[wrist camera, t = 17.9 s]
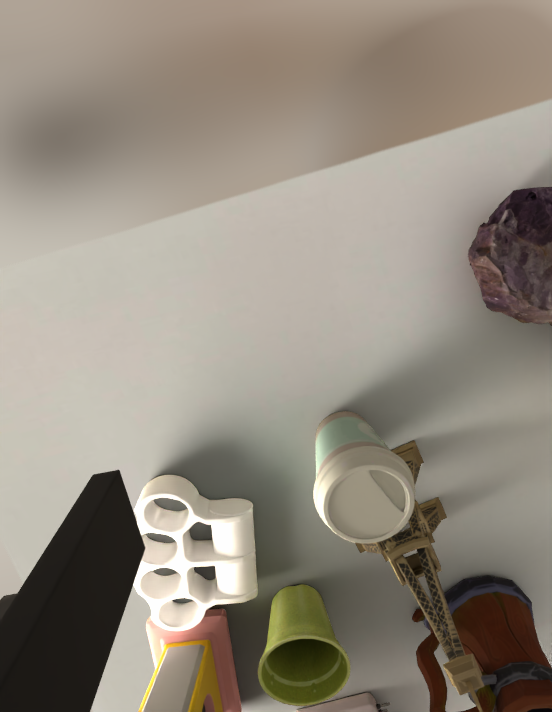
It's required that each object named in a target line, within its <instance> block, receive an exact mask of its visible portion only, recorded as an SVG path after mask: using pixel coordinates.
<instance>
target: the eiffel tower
mask: <svg viewBox="0 0 552 712" xmlns="http://www.w3.org/2000/svg"><path fill="white" fill-rule="evenodd" d="M391 451H392V452H393V453H395V454H396V455H398V456H399V457H400V458H402V459H403V460H404V461H405V463H406V464H407V465H408V467H409V469H410V470H411V473H412V476H413V480H414V484H416V480H417V477H418V473H419V470H420V466H421V463H424V462H423V459H422V457H421V455H420V452H419V450H418V447H417V445H416V443H415V441H412V442H409V443H407V444H405V445H402V446H400V447H397V448H395V449H393V450H391ZM445 518H447V516H446V514H445V512H444V509H443V507H442V504H441V502H440V500H439V498H438V497H437V498H435V499H432V500H430V501H428V502H425V503H423V504H420V505H419V504H418V502H417V501H416V500H415V504H414V509H413V513H412V515H411V517H410V519H409V524H410V527H409V528H408V529H406V530H404V531H402V532H399V533H396V534H395V535H393V536H392V537H390V538H388V539H385V540H383V541H379V542H375V543H355V544H356V546H357V548H358V550H359V551H360V553H362V552H364V551H367V552H372V553H378V554H382V555H383V557H384V559H385V561H386V562H387V561H388V560H389V561H390V564H391V566H392V568H393V570H394V572H395V574H396V576H397V578H398V580H399V582H400V583H401V584H402V586H404V585H406V584H407V585H408V587H409V588H410V590H411V592H412V594H413V595H414V597H415V599H416V601H417V602H418V604H419V606H420V608H421V609H422V611H423V613H424V615H425V616H426V618H427V620H428V622H429V623H430V625H431V627H432V629H433V631H434V633H435V635H436V637H437V639H438V641H439V642H440V644H441V646H442V648H443V650H444V652H445V654H446V656H447V658H448V660H449V662H447V663H445V664H443V667H444V669H445V671H446V673H447V675H448V677H449V679H450V681H451V683H452V685H453V686H454V687H456V689H457V691H458V693H459V695H463V694H465V693H468V692H470V693H471V695H472V697H473V699H474V701H475V703H476V705H477V707H478V709H479V711H480V712H483V711H482V708H481V706H480V703H479V701H478V698H477V696H476V694H475V691H474V690H476V689H479V688H482V687H484V684H483V682H482V679H481V677H482V673H481V671H480V669H479V666H478V664H477V662H476V660H475V657H474V655H473V654H469V655H465V652H464V649H463V647H462V644H461V641H460V639H459V636H458V633H457V630H456V628H455V625H454V622H453V620H452V617H451V614H450V611H449V608H448V605H447V602H446V599H445V596H444V593H443V590H442V587H441V584H440V581H439V578H438V575H437V572H440V571H441V565H440V563H439V561H438V558H437V556H436V554H435V551H434V549H433V547H432V545H431V543H433V542H435V541H434V539H433V536H432V533H433V532H434V531H435V529H436V528H437V526H438V525H439V524H440V522H441V520H443V519H445ZM415 549H417V552H418V553H415V554H413V555H411V556H408V557H406V558H405V557H404V556H403V554H406V553H408V552H410V551H413V550H415ZM422 576H425V577H426V581H427V584H428V587H429V590H430V593H431V596H432V600H433V603H434V605H435V607H436V610H437V612H438V614H439V616H440V619H441V621H442V623H443V626H444V628H445V630H446V633H447V635H448V637H449V639H448V637H447V635H446V633H445V631H444V629H443V626H442V624H441V622H440V620H439V618H438V616H437V614H436V612H435V609H434V607H433V605H432V603H431V601H430V600H429V598H428V596H427V595H426V593H425V591H424V589H423V588H422V586H421V584H420V583H419V581H418V579H417V578H420V577H422ZM449 640H450V641H449ZM450 642H451V643H450ZM451 644H452V645H451ZM452 647H453V648H452ZM453 649H454V650H453ZM454 651H455V652H454Z"/></svg>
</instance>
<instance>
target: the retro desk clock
mask: <svg viewBox="0 0 552 712" xmlns="http://www.w3.org/2000/svg"><path fill="white" fill-rule="evenodd" d="M146 630H147V634H148V638H149V642H150V647H151V651H152V655H153V660H154V664H155V668H156V670H155V672H154V675H153V677H152V680H151V682H150V685H149V687H148V689H147V692H146V694H145V697H144V699H143V701H142V704H141V706H140V709H139V711H138V712H241V702H240V695H239V689H238V683H237V677H236V671H235V664H234V658H233V652H232V646H231V640H230V634H229V627H228V621H227V615H226V611H225V610H224V609H214V610H206V612H205V615H204V617H203V619H202V620H201V622H200V623H199V624H197V625H196V626H195V627H193V628H191V629H188V630H184V631H171V630H167V629H164V628H162V627H160V626H158V625H157V624H156V623H154V622H153V620H152V619H151V616H150V617H149V618H148V620H147V623H146Z"/></svg>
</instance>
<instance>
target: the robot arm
mask: <svg viewBox="0 0 552 712" xmlns="http://www.w3.org/2000/svg"><path fill="white" fill-rule="evenodd" d="M144 551H145V545H144V542H143V539H142V536H141V533H140V530H139V527H138V524H137V521H136V518H135V515H134V512H133V509H132V506H131V504H130V501H129V498H128V495H127V492H126V489H125V486H124V483H123V480H122V477H121V474H120V471H119V470H116V471H110V472H105V473H100V474H94V475H93V476H92V477H91V479H90V480H89V482H88V483H87V485H86V487H85V488H84V490H83V491H82V493H81V494H80V496H79V498H78V499H77V501H76V502H75V504H74V505H73V507H72V509H71V510H70V512H69V513H68V515H67V516H66V518H65V520H64V521H63V523H62V524H61V526H60V527H59V529H58V531H57V532H56V534H55V535H54V537H53V538H52V540H51V542H50V543H49V545H48V546H47V548H46V549H45V551H44V553H43V554H42V556H41V557H40V559H39V560H38V562H37V564H36V565H35V567H34V568H33V570H32V571H31V573H30V575H29V576H28V578H27V579H26V581H25V582H24V584H23V586H22V587H21V589H20V591H19V592H18V593H17V594H12V595H6V596H4V597H3V598H2V599H1V600H0V712H90V710H91V707H92V704H93V701H94V698H95V695H96V692H97V689H98V686H99V683H100V681H101V678H102V675H103V672H104V669H105V666H106V663H107V660H108V657H109V654H110V651H111V648H112V645H113V642H114V639H115V636H116V633H117V631H118V628H119V625H120V622H121V619H122V616H123V613H124V610H125V607H126V604H127V601H128V598H129V595H130V592H131V589H132V586H133V583H134V581H135V578H136V575H137V572H138V569H139V566H140V563H141V560H142V557H143V554H144Z"/></svg>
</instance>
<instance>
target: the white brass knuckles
mask: <svg viewBox="0 0 552 712" xmlns="http://www.w3.org/2000/svg"><path fill="white" fill-rule="evenodd" d="M160 497H166V498H171V499H176V500H179V501H181V502H183V503H184V504H185V505H186V506H187V507H188V509H186V510H183V511H171V510H166V509H163V508H160V507H159V506H158V505H156V504H155V502H154V501H153V499H156V498H160ZM135 512H136V514H137V517H138V520H137V524H138V527H139V530H140V533H141V536H142V539H143V542H144V545H145V551H144V554H143V557H142V560H141V563H140V566H139V569H138V572H137V575H136V578H135V581H134V583H133V584H134V586H135V588H136V590H137V592H138V594H139V595H141V596H142V597H143V598H145V599H146V600H147V601H148V603H149V604H150V606H151V609H152V615H151V619H152V620H153V622H154V623H156V624H157V625H158V626H160V627H162V628H164V629H167V630H171V631H184V630H188V629H191V628H193V627H195V626H196V625H197V624H199V623H200V622H201V620H202V619H203V617H204V615H205V612H206V610H207V609H209V608H210V607H212V606H213V605H217V604H232V603H241V602H246V601H249V600H251V599H253V598H255V597H256V596H257V594H258V582H257V570H256V554H255V538H254V522H253V504H252V502H250V501H248V500H245V499H240V498H229V499H222V500H208V499H206V498H204V497H203V496H201V495H199V493H198V491H197V489H196V488H195V486H194V485H193V484H192V483H191V482H190V481H188V480H187V479H185V478H183V477H180V476H176V475H163V476H159V477H156V478H154V479H153V480H151V481H150V482H149V483H147V485H146V486H145V487H144V489H143V491H142V493H141V495H140V498H139V500H138V502H137V505H136V507H135ZM196 522H203V523H205V524H207V525H211V529H212V539H213V540H200V541H197V540H193V539H192V538H191V537H190V532H189V529H190V528H191V527H192V526H193V524H194V523H196ZM146 533H160V534H165V535H168V536H170V537H172V538H173V539H175V541H176V542H173V543H161V542H156V541H153V540H151V539H149V538H148V537H147V536H146V535H145V534H146ZM204 566H215V571H216V578H215V579H214V580H206V579H205V578H203V577H202V576H201V575H199V574H197V573H196V572H195V571H194V567H204ZM158 568H171V569H173V570H175V571H177V572H178V573H176V574H173V575H170V576H161V575H158V574H155V573H154V572H152V570H155V569H158ZM177 598H188V599H191V600H193V601H192V602H188V603H176V602H173V601H171V600H174V599H177Z"/></svg>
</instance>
